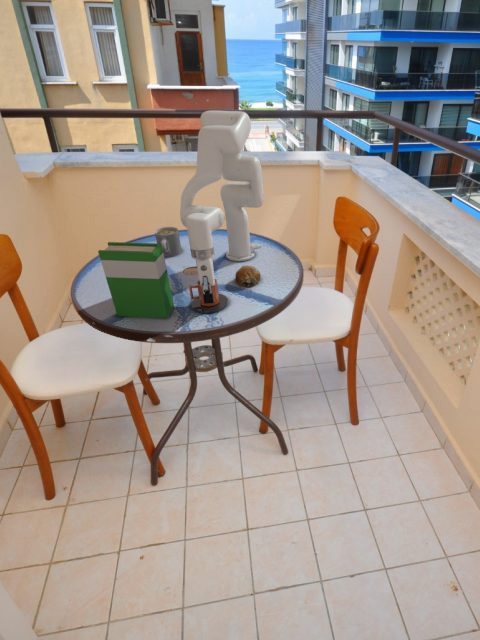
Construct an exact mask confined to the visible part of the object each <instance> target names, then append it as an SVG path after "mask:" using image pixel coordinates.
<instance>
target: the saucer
mask: <svg viewBox="0 0 480 640" xmlns="http://www.w3.org/2000/svg"><path fill="white" fill-rule="evenodd" d="M190 304H191V305H190V306H191V308H192V310H194V311H195V312H197V313H200V314H214V313H217V312H220V311H223V310H224V309H226V308H227V307H228V305H229V299H228V297H227V296H226V295H224V294H222V293H219V303H218V304H216V305H214V306H203V305H201V304H200V299H192V301H191V303H190Z"/></svg>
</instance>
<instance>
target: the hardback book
mask: <svg viewBox="0 0 480 640" xmlns="http://www.w3.org/2000/svg"><path fill="white" fill-rule="evenodd" d="M97 252H98V253H97V254H98V257H99V259H100V262H101V266H102V270H103V273H104V277H105V280H106V283H107V286H108V289H109V292H110V296H111V298H112V303H113V306H114V309H115V312H116V316H117V317H133V318H134V317H135V318H155V319H156V318H157V319H161V318H162V319H168V318H169V316H170V315H171V313H172V312H173V310H174V308H175V303H174V299H173V293H172V288H171V283H170V279H169V273H168V269H167V263H166V259H165V258H166V257H165V256H164V253H163V248H162V244H157V242H156V243H153V242H121V241H120V242H119V241H118V242H117V241H108V242H107V247H106V248H104V249H99V250H97Z"/></svg>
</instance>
